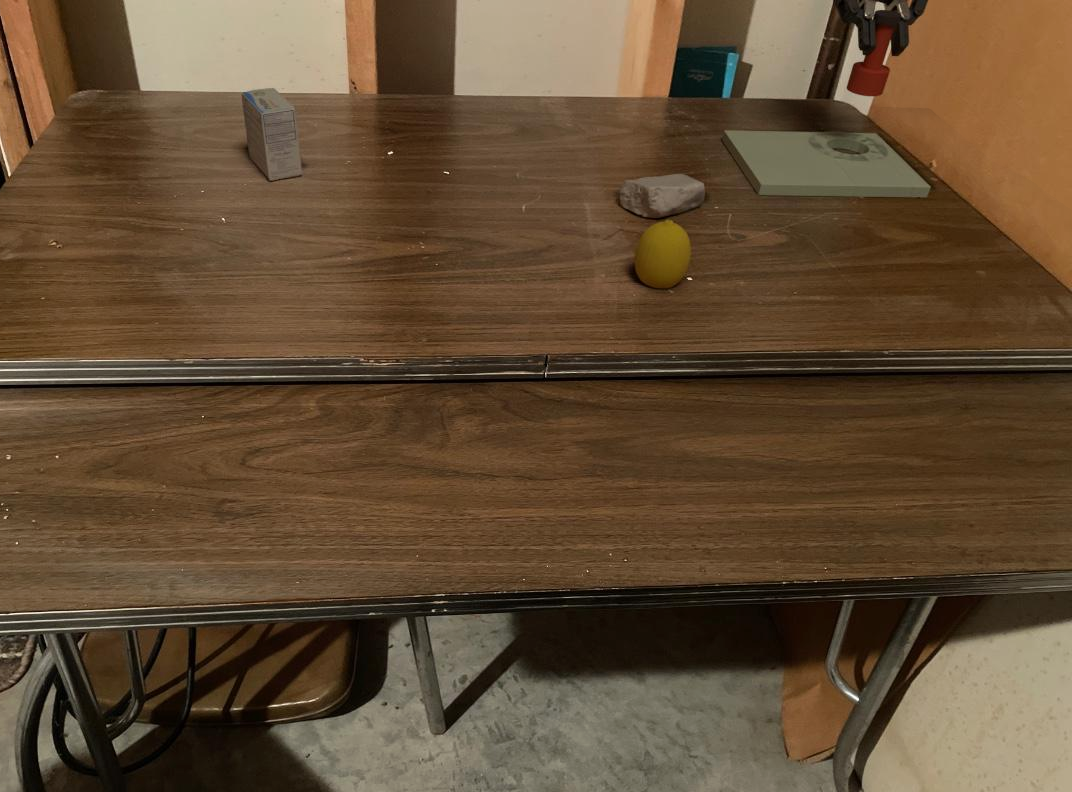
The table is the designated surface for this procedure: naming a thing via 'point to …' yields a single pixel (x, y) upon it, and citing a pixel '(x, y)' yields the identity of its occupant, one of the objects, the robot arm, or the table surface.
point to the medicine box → (272, 133)
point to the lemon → (662, 255)
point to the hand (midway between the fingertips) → (884, 52)
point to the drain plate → (822, 164)
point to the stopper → (874, 58)
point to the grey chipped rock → (662, 195)
